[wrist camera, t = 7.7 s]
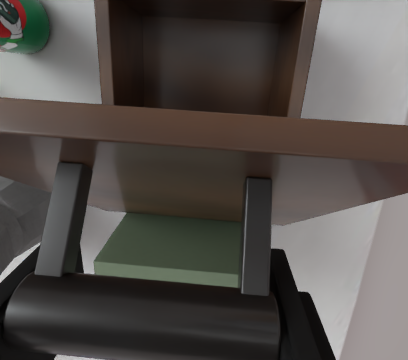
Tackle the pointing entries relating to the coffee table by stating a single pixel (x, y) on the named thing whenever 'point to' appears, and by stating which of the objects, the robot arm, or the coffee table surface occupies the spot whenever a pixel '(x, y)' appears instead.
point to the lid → (178, 207)
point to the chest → (206, 54)
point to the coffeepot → (20, 218)
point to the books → (173, 250)
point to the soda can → (23, 26)
